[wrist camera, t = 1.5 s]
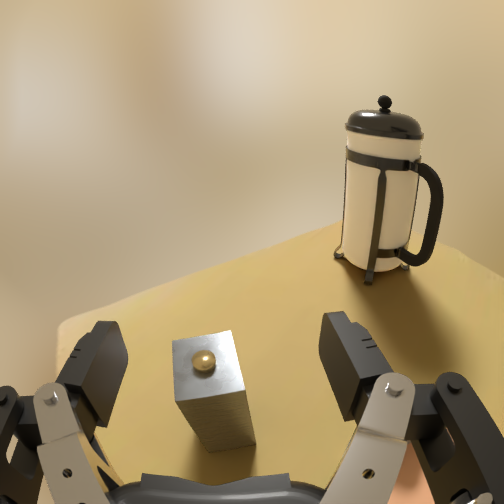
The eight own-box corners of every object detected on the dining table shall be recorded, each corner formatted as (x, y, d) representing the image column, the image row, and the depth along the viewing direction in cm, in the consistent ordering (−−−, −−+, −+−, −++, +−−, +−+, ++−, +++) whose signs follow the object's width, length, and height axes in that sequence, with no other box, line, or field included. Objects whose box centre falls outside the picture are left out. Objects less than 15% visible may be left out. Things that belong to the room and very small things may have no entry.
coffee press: (320, 278, 47) (323, 90, 32) (343, 237, 59) (347, 92, 43) (418, 302, 39) (454, 106, 24) (420, 253, 51) (440, 104, 35)
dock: (431, 413, 23) (454, 386, 20) (477, 491, 12) (510, 474, 9) (340, 458, 22) (353, 439, 18) (382, 554, 11) (407, 555, 8)
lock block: (244, 399, 29) (229, 325, 23) (256, 444, 24) (244, 385, 18) (201, 407, 29) (170, 335, 22) (208, 452, 23) (172, 397, 17)
